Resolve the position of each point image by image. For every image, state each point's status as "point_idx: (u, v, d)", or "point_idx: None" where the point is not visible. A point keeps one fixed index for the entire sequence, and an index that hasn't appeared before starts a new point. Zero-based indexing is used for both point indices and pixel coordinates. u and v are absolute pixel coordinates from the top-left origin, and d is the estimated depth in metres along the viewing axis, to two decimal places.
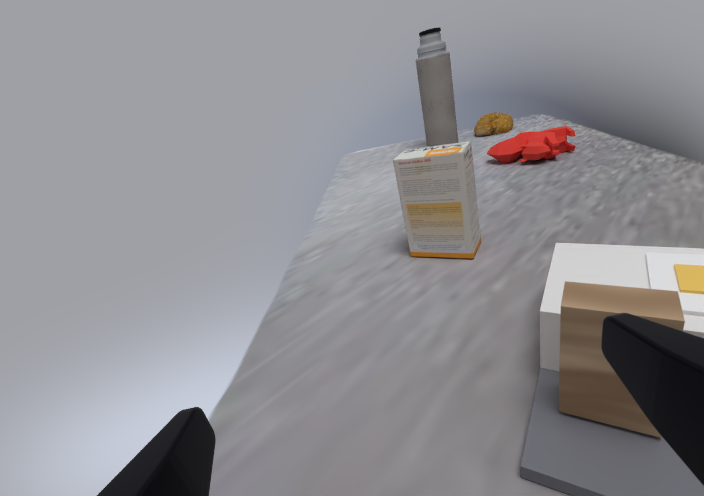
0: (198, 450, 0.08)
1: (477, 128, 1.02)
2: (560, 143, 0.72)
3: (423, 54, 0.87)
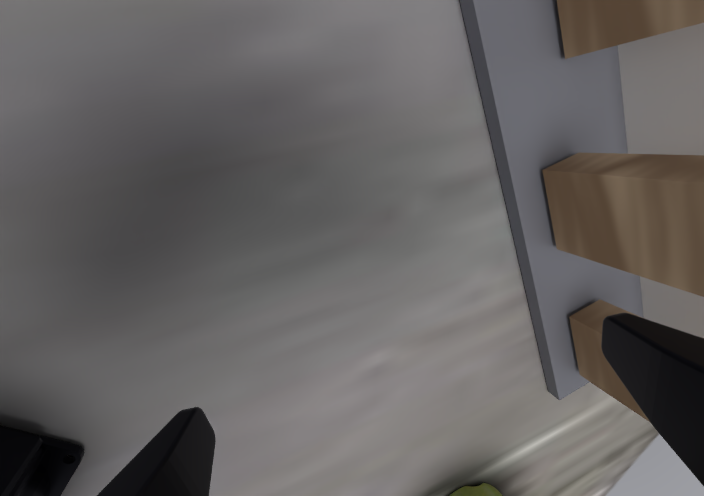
0: (198, 450, 0.08)
1: None
2: None
3: None
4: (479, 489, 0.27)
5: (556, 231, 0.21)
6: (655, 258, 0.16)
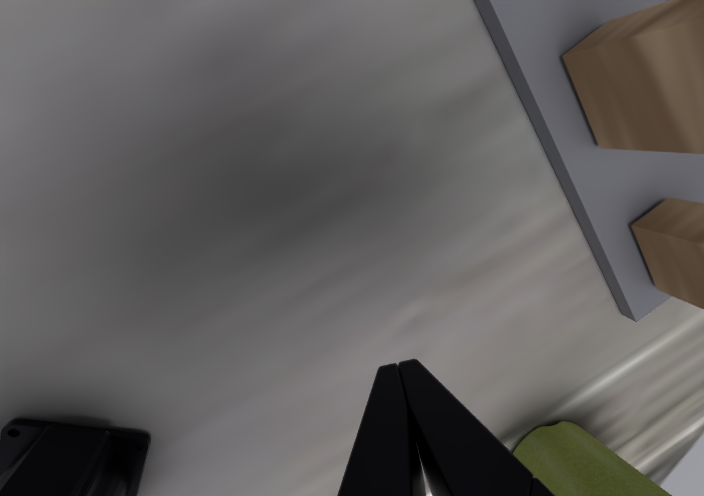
0: None
1: None
2: None
3: None
4: (556, 428, 0.25)
5: (594, 127, 0.18)
6: None
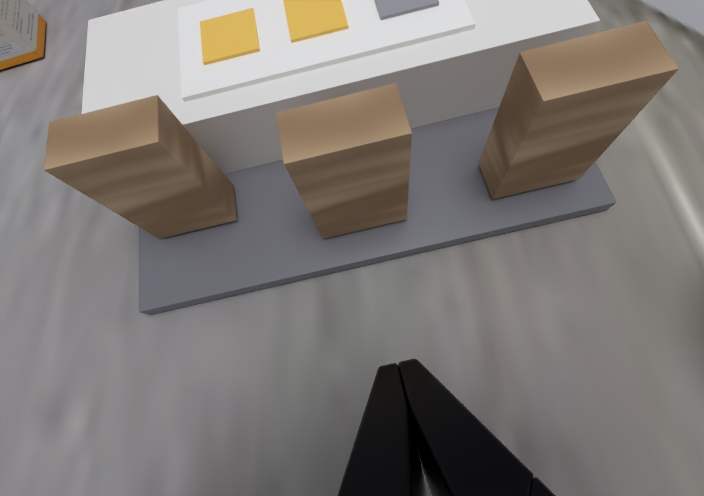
0: None
1: None
2: None
3: None
4: None
5: (385, 222, 0.21)
6: (382, 172, 0.16)
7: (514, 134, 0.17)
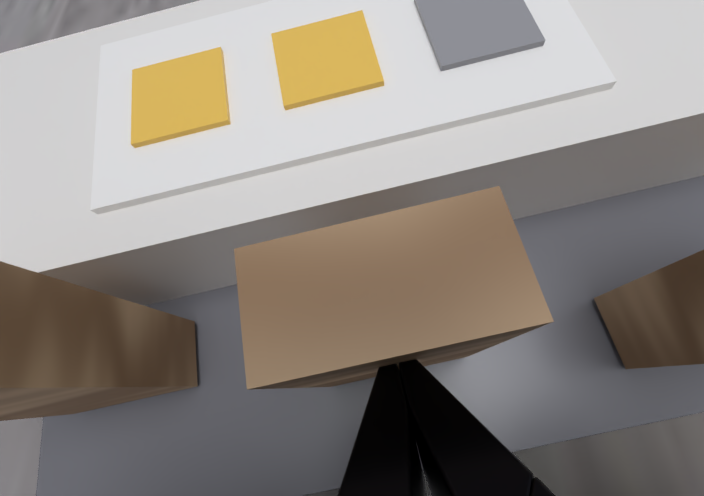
0: None
1: None
2: None
3: None
4: None
5: None
6: (455, 350, 0.08)
7: None
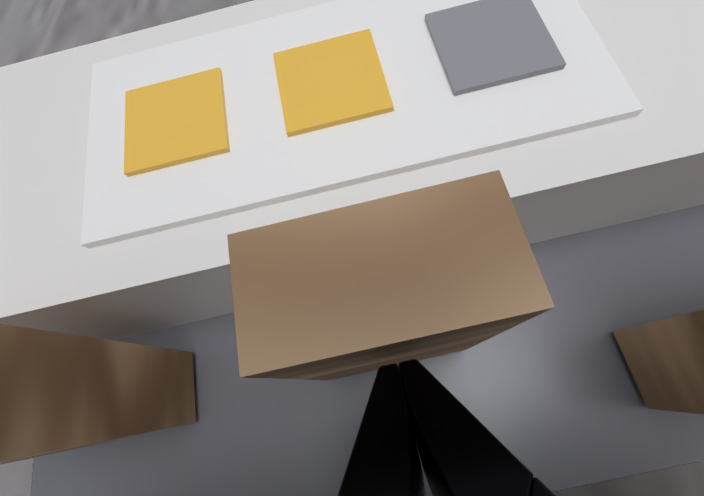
0: None
1: None
2: None
3: None
4: None
5: (431, 357, 0.13)
6: (454, 340, 0.08)
7: None
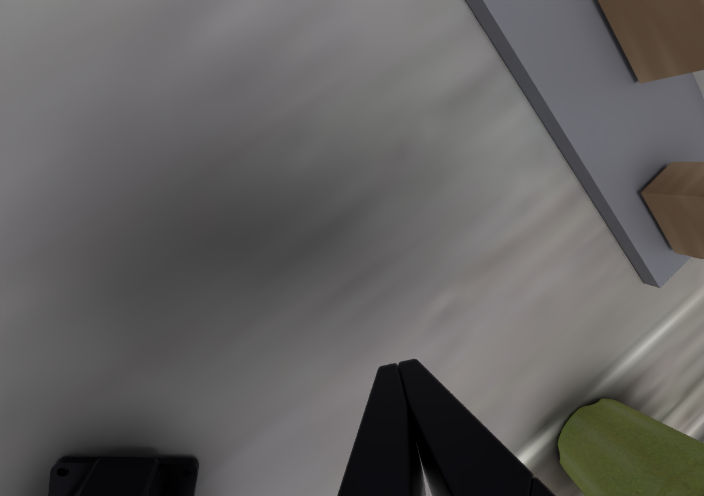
0: None
1: None
2: None
3: None
4: (598, 405, 0.24)
5: (634, 62, 0.19)
6: None
7: None
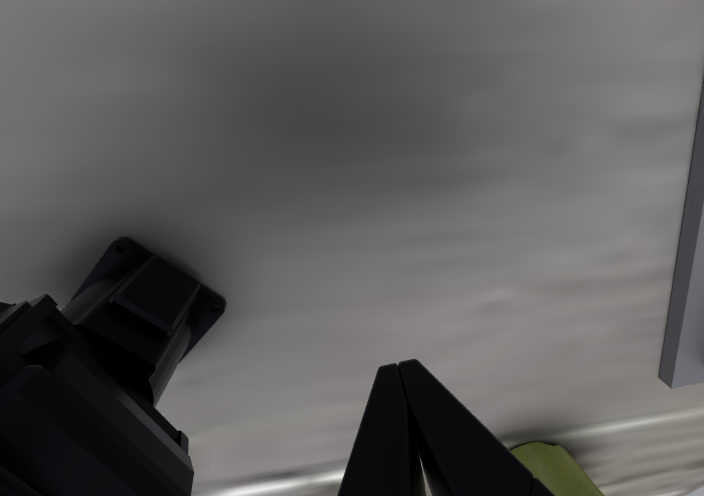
0: None
1: None
2: None
3: None
4: (554, 449, 0.26)
5: None
6: None
7: None
